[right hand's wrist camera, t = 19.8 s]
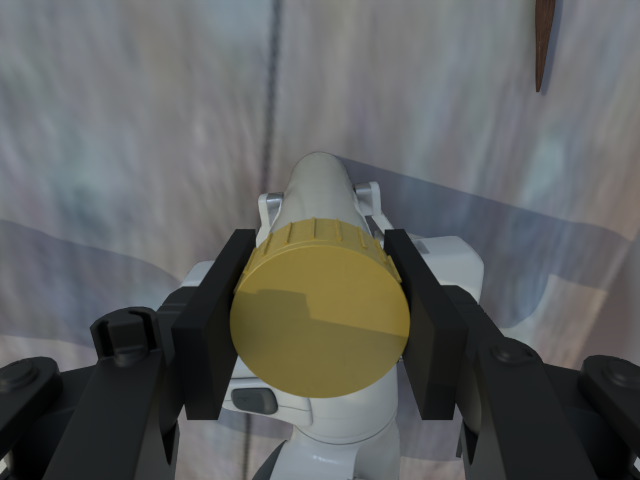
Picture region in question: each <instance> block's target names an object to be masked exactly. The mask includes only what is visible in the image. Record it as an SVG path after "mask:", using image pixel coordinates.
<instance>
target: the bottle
mask: <svg viewBox="0 0 640 480" xmlns="http://www.w3.org/2000/svg"><path fill="white" fill-rule="evenodd" d="M312 217H315V218H326V219H334V220H335V218H337V219H339V221H343V222H346V223H349V224H351V225H354V226H356V227H357V226H360V227H361V229H362V230H363V231H365V232H366V233H368V234H369V235H370V236H371V237H373V236H372V234H371V231H370V229H369V226H368V224H367V221H366V219H365V216H364V214H363V211H362V208H361V206H360V203H359V201H358V198H357V196H356V193H355V191H354V188H353V186H352V183H351V181H350V178H349V175H348V173H347V170H346V168H345V166H344V165H343V163H342V162H341V161H340V160H339V159H338V158H336V157H335V156H333V155H331V154H328V153H323V152H317V153H312V154H309V155H307V156H305V157H304V158H302V159H301V160H300V161H299V162H298V163H297V164H296V166H295V168H294V170H293V172H292V175H291V178H290V180H289V183H288V185H287V188H286V190H285V193H284V195H283V198H282V200H281V203H280V206H279V208H278V211H277V213H276V216H275V218H274V221H273V223H272V226H271V228H270V231H269V233H270V232H271V233H274V232H275V231H277V230H278V229H280V228H282V227H284V226H286V225H288V223H289V222H292V223H294V222H297V221H301V220H305V219H312ZM267 237H268V236H267Z"/></svg>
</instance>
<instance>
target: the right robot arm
mask: <svg viewBox="0 0 640 480" xmlns="http://www.w3.org/2000/svg"><path fill="white" fill-rule="evenodd" d="M255 247H256V234H255V229H236V230H235V231H234V233H233V235H232V236H231V238H230V239H229V241H228V242H227V244H226V245H225V247H224V248H223V250H222V251H221V253H220V254H219V256H218V257H217V259H216V260H215V262H214V263H213V265H212V266H211V268H210V269H209V271H208V272H207V274H206V275H205V277H204V278H203V280H202V281H201V283H200V284H199V286H182V287H181V288H179V289H177V290H176V291H174V292H173V293H171V294H170V295H169V296H168V297H167V299H166V300H165V301H164V302H163V304H162V306H160V308H159V309H158V310H157V311H156V312H155V311H154V310H153V309H151V308H147V307H128V308H124V309H119V310H116V311H114V312H111V313H108V314H106V315H104V316H103V317H101V318H99V319H98V320H96V321H95V322H94V323H93V325H92V326H91V327H90V330H91V334H92V337H93V341H94V345H95V348H96V352H97V355H98V362H97V364H96V365H93V366H89V367H85V368H80V369H75V370H70V371H65V372H61V373H60V371H59V368H58V365H57V362H56V361H54V360H53V359H52V358H48V357H33V358H26V359H22V360H20V361H19V360H18V361H16V362H13V363H10V364H9V365H7V366H5V367H3V368H1V369H0V461H1V460H2V459H4V461H5V463H6V466H7V467H6V468H5V469H4V470H3V471H2V473H1V474H0V480H174V478H175V470H176V462H177V453H178V445H179V437H180V432H179V425H178V420H177V418H178V416H179V414H180V411H181V409H182V407H183V405H185V410H186V416H187V420H218V417H219V414H220V411H221V408H222V405H223V402H224V399H225V395H226V392H227V389H228V386H229V383H230V380H231V377H232V374H233V371H234V367H235V364H236V361H237V358H238V353H237V351H236V349H235V347H234V344H233V341H232V338H231V332H230V320H229V319H230V310H231V305H232V301H233V299H234V296H235V294H233V292H234V289H235V287H236V285H237V283H238V281H239V279H240V276H241V274H242V272H243V270H244V268H245V266H246V265H247V263H248V261H249V258H250V256H251V254H252V252H253V250H254V248H255ZM383 250H384V251H385V252H386V254H387V256H389V255H390V256H391V258H392V261H393V263H394V265H395V267H396V269H397V271H398V274H399V276H400V278H401V280H402V282H401V283H400V285H401V287H402V289H403V291H404V294H405V296H406V298H407V302H408V305H409V310H410V329H409V337H408V341H407V344H406V347H405V349H404V351H403V353H402V355H401V356H402V359H403V362H404V365H405V368H406V371H407V374H408V377H409V381H410V384H411V387H412V390H413V393H414V396H415V399H416V402H417V405H418V409H419V412H420V415H421V418H422V420H453V415H454V409H455V403H456V404H457V406H458V408H459V410H460V412H461V415H462V417H463V420H462V425H461V430H460V435H459V440H458V446H457V451H456V457H459V458H461V454H462V452H463V461H464V469H465V477H466V480H640V472H639V471H638V469H637V468H636V467H635V466H634V463H635V460H636V458H637V456H638V458H639V459H640V367H639V366H637V365H635V364H633V363H631V362H629V361H627V360H624V359H620V358H617V357H613V356H605V355H594V356H589V357H588V358H586V359H585V360H584V361H583V364H582V367H581V370H580V371H577V370H573V369H568V368H563V367H558V366H553V365H549V364H545V363H543V361H542V359H541V358H540V356H539V355H538V354H537V352H536V351H535V350H533V349H532V348H530V347H529V346H528V345H526V344H524V343H522V342H520V341H518V340H515V339H512V338H508V337H504V335H503V334H502V333H501V332H500V330H499V329H498V328H497V327H496V325H495V324H494V323H493V322H492V320H491V319H490V318H489V316H488V315H487V314H486V313H484V310H483V309H482V308H481V306H480V305H478V303H477V301H476V300H475V299H474V297H473V296H472V295H471V294H470V293H469V292H468V291H466V290H464V289H463V288H461V287H460V286H458V285H440V283H439V282H438V280H437V279H436V277H435V276H434V274H433V273H432V271H431V270H430V268H429V267H428V265H427V264H426V262H425V261H424V259H423V257H422V256H421V254H420V253H419V251H418V250H417V248H416V247H415V245H414V244H413V242H412V241H411V239H410V238H409V236H408V235H407V233H406V232H405V230H404V229H385V231H384V245H383Z"/></svg>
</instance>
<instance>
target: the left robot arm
mask: <svg viewBox="0 0 640 480" xmlns="http://www.w3.org/2000/svg"><path fill="white" fill-rule="evenodd" d="M354 191H355V193H356V196H357V198H358V201H359V203H360V206H361V208H362V211H363V214H364V216H371V217H372V218H373V220H374V221H375V223H376V224H377V225H378V227H379V228H380V230H375V231H374V239H376V238H377V239H378V240H379V242H380V245H381V247H382V248H383V245H384V231H385V229H394V227H393V226H392V225H391V223H390V222H389V220H388V219H387V217H386V216H385V215H384V213H383V212H382V210H381V199H380V188H379V185H378V183H377V182H376V181H375V182H366V183H358V184H354ZM283 195H284V193H283V192H279V193H267V194H261V195H260V197H259V211H260V216H261V222H262V226H261V228H260V230H259V233H258V235H257V238H256V248H258V247H259V246H260V244H261V243H262V242H263V241H264V240H265V239H266V238H267V236H268V234H269V231H270V228H271V226H272V223H273V221H274V218H275V216H276V213H277V211H278V208H279V206H280V203H281V200H282V198H283ZM411 241H412V242H413V244H414V245H415V247H416V248H417V250H418V251H419V253H420V254H421V256H422V257H423V259H424V261H425V262H426V264H427V265H428V267H429V268H430V270H431V271H432V273H433V274H434V276H435V277H436V279H437V280H438V282H439V283H440V285H458V286H460V287H461V288H463V289H464V290H466V291H468V292H469V293H470V294H471V295H472V296H473V297H474V299H475V300H476V301H477V303H478V305H479V300H480V295H481V290H482V283H483V276H484V264H483V261H482V259H481V257H480V256H479V255H478V254H477V253H476V251H475V250H474V249H473V248H472V247H471V246H470V245H469V244H467V243H466V242H465V241H463V240H462V239H461V238H460V237H458V236H443V237H434V238H424V239H415V240H411ZM214 262H215V260H214V261H204V262H199V263H197V264H196V265H195V266H194V267H193V268H192V269H191V270H190V272H189V273H188V274H187V275H186V277H185V278H184V280H183V281H182V283H181V285H180V287H179V288H181V287H182V286H199V284H200V283H201V281H202V280H203V278H204V277H205V275H206V274H207V272H208V271H209V269H210V268H211V266H212V265H213V263H214ZM400 361H401V362H402V361H403V359H402V356H401V357H400V358H399V360H398V361H397V363H398V362H400ZM222 407H223V408H225V409H228V410H233V411H239V412H246V413H252V414H257V415H262V416H267V417H271V418H275V419H279V420H282V421H285V422H288V423H291V424H293V433H292V437H291V439H290V440H289V441H287V440H285V441H284V442H282V443H281V444H280V445H279V446H278V447H277V448H276V449H275V450H274V451H273V453H272V454H271V455H270V456H269V457H268V459H267V460H266V461H265V462H264V464H263V465H262V466H261V467H260V468H259V470H258V471H257V473H256V474H255V476H254V477H253V479H252V480H399V474H400V435H399V430H398V426H397V423H396V421H395V417H396V414H397V409H398V383H397V366H396V364H395V365H394V366H393V367H392V369H391V370H390V371H389V372H388V373H387V374H386V375H384V376H383V377H382V378H381V379H379V380H378V381H377V382H375V383H374V384H372V385H370V386H368V387H367V388H364V389H362V390H360V391H357V392H355V393H352V394H348V395H345V396H340V397H334V398H307V397H300V396H295V395H291V394H288V393H285V392H282V391H280V390H278V389H276V388H273V387H271V386H270V385H268V384H266V383H265V382H263V381H262V380H261V379H259V378H258V377H257V376H255V375H254V374H253V373H252V372H251V371H250V370H249V369H248V368H247V366H246V365H245V364H244V363H243V361H242V360H241V358H240V357H239V355H238V358H237V361H236V364H235V367H234V371H233V374H232V377H231V380H230V383H229V386H228V389H227V392H226V395H225V399H224V402H223V405H222Z"/></svg>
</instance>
